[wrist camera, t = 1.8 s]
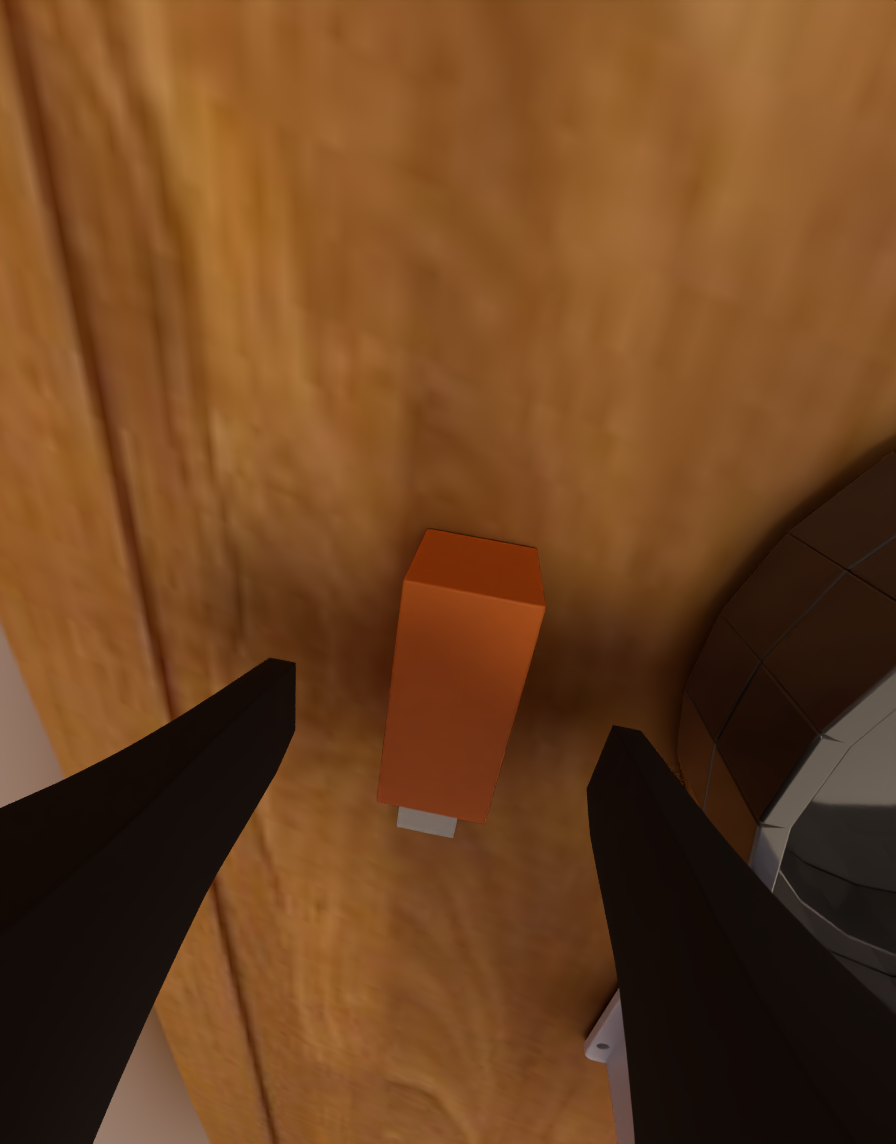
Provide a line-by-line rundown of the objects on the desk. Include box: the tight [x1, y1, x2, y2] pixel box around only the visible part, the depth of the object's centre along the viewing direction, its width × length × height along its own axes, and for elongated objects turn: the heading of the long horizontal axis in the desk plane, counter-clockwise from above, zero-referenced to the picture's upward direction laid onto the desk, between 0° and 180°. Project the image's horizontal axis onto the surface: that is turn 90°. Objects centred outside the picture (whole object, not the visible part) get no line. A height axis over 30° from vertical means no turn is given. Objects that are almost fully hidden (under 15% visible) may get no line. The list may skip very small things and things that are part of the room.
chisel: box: [377, 529, 546, 838], centre depth 13 cm, size 11×3×3 cm, turn 171°
